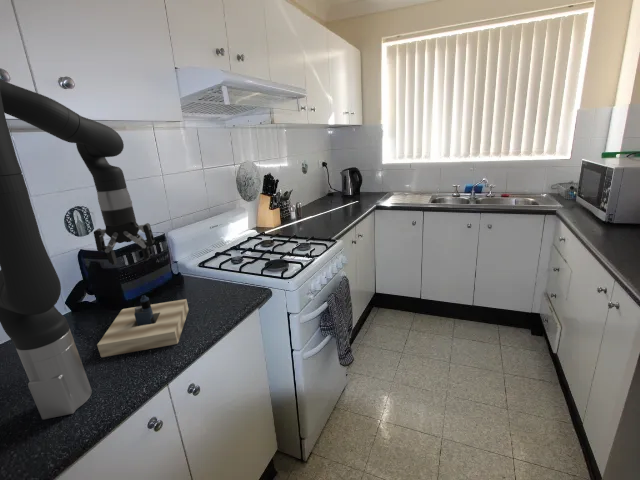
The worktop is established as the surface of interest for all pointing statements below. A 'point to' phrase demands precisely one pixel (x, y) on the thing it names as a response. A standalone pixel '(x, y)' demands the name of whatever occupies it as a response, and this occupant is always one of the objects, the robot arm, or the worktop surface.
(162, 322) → the socket dock
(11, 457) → the worktop surface
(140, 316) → the vaping device
